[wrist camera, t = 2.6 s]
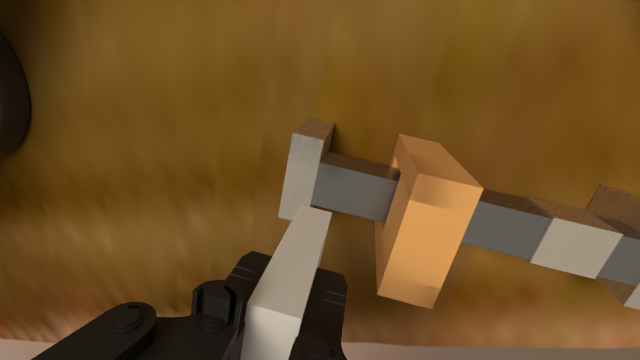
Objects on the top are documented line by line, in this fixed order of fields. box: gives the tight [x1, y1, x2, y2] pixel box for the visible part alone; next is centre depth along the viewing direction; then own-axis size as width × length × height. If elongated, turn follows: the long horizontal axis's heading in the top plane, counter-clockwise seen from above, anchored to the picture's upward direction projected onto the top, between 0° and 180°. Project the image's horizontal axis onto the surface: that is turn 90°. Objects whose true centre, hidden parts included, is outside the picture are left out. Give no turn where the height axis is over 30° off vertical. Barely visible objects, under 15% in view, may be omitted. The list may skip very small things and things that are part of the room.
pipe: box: [278, 118, 640, 310], centre depth 22 cm, size 25×6×7 cm, turn 78°
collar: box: [374, 134, 484, 309], centre depth 20 cm, size 3×7×10 cm, turn 168°
